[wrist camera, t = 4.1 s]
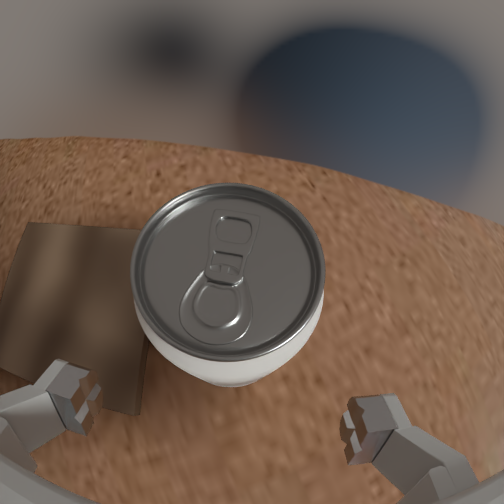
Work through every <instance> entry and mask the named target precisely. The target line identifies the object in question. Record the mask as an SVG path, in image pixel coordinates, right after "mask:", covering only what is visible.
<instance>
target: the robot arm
mask: <svg viewBox="0 0 504 504" xmlns="http://www.w3.org/2000/svg"><path fill="white" fill-rule="evenodd" d="M98 379H99V378H98V375H97V372H96V371H94V370H92V369H89V368H86V367H83V366H80V365H76V364H73V363H70V362H67V361H64V360H61V359H56V360H54V362H53V363H52V364H51V365H50V366H49V367H48V369H47V370H46V371H45V372H44V373H43V374H42V376H41V377H40V378H39V379H38V380H37V382H36V383H35V384H34V385H27V386H25V387H22V388H19V389H17V390H14V391H11V392H8V393H6V394H3V395H0V504H100V503H98V502H95V501H92V500H90V499H87V498H85V497H82V496H80V495H77V494H75V493H73V492H71V491H68V490H66V489H64V488H62V487H60V486H58V485H55V484H53V483H51V482H49V481H47V480H45V479H44V478H42V477H40V476H38V475H36V474H34V472H35V470H36V468H37V464H36V462H35V460H34V459H33V458H32V457H31V455H30V454H29V453H30V452H32V451H34V450H35V449H37V448H38V447H40V446H42V445H43V444H45V443H47V442H48V441H50V440H51V439H53V438H55V437H56V436H58V435H59V434H61V433H62V432H64V431H66V429H68V430H70V431H73V432H76V433H79V434H82V435H85V436H87V435H88V433H89V431H90V429H91V427H92V425H93V424H94V421H93V416H95V415H97V414H99V412H100V410H101V408H102V404H103V392H102V389H101V387H100V386H99V385H98V384H97V381H98ZM347 407H348V411H346V412H345V413H344V414H343V415H342V418H341V420H340V436H341V440H342V441H344V442H345V443H346V444H347V445H346V447H345V449H344V452H345V456H346V459H347V463H348V465H356V464H364V463H372V465H373V466H375V467H376V468H377V469H378V470H379V471H380V472H381V473H382V474H383V475H384V476H385V477H386V478H387V479H388V480H389V481H390V482H391V483H392V484H394V485H395V486H396V487H397V488H398V489H399V490H400V491H401V492H402V493H403V494H404V495H405V496H404V497H403V498H401V499H400V500H399V501H398V502H397V503H396V504H504V470H502V471H500V472H498V473H497V474H495V475H493V476H491V477H489V478H487V479H486V480H484V481H482V482H480V483H479V482H478V480H477V478H476V476H475V474H474V472H473V470H472V468H471V466H470V464H469V462H468V460H467V459H466V457H465V456H464V455H463V454H461V453H459V452H457V451H456V450H454V449H452V448H451V447H449V446H447V445H446V444H444V443H443V442H441V441H439V440H438V439H436V438H434V437H433V436H431V435H430V434H428V433H426V432H425V431H423V430H422V429H420V428H419V427H417V426H412V425H411V423H410V421H409V419H408V417H407V415H406V413H405V411H404V409H403V407H402V405H401V403H400V401H399V400H398V398H397V396H396V395H395V394H394V393H389V394H380V395H369V396H356V397H351V398H350V399H349V401H348V404H347Z"/></svg>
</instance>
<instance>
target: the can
mask: <svg viewBox="0 0 504 504" xmlns="http://www.w3.org/2000/svg"><path fill="white" fill-rule="evenodd" d="M130 282H131V288H132V293H133V297H134V304H135V309H136V313H137V316H138V319H139V322H140V324H141V326H142V328H143V330H144V332H145V334H146V336H147V337H148V339H149V340H150V341H151V343H152V344H153V345H154V347H155V348H156V349H157V350H158V351H159V352H160V353H161V354H162V355H163V356H164V357H165V358H166V359H168V360H169V361H170V362H171V363H173V364H174V365H176V366H177V367H179V368H180V369H182V370H184V371H186V372H187V373H189V374H191V375H193V376H195V377H197V378H199V379H201V380H204V381H206V382H208V383H211V384H214V385H217V386H223V387H239V386H245V385H248V384H251V383H253V382H256V381H257V380H259V379H261V378H263V377H265V376H266V375H268V374H270V373H271V372H273V371H275V370H276V369H278V368H279V367H280V366H282V365H283V364H285V363H286V362H287V361H289V360H290V359H291V358H292V357H293V356H294V355H295V354H296V353H297V352H298V351H299V350H300V349H301V348H302V347H303V346H304V344H305V343H306V342H307V340H308V339H309V337H310V335H311V334H312V332H313V330H314V328H315V326H316V324H317V322H318V319H319V316H320V313H321V309H322V304H323V296H324V283H325V260H324V254H323V250H322V247H321V244H320V241H319V239H318V237H317V235H316V233H315V231H314V229H313V228H312V226H311V224H310V223H309V222H308V220H307V219H306V218H305V217H304V216H303V214H302V213H301V212H300V211H299V210H298V209H297V208H295V207H294V206H293V205H292V204H290V203H289V202H288V201H286V200H285V199H283V198H282V197H280V196H278V195H276V194H274V193H272V192H270V191H268V190H265V189H262V188H259V187H256V186H252V185H247V184H240V183H216V184H209V185H204V186H200V187H197V188H194V189H191V190H188V191H186V192H184V193H182V194H180V195H178V196H176V197H174V198H173V199H171V200H170V201H168V202H167V203H165V204H164V205H163V206H162V207H161V208H159V209H158V210H157V211H156V212H155V213H154V214H153V215H152V217H151V218H150V219H149V220H148V221H147V223H146V224H145V226H144V227H143V229H142V230H141V232H140V234H139V236H138V238H137V240H136V243H135V246H134V249H133V252H132V257H131V263H130Z"/></svg>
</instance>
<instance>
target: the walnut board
mask: <svg viewBox="0 0 504 504" xmlns="http://www.w3.org/2000/svg"><path fill="white" fill-rule="evenodd" d="M140 232H141V230H135V229H122V228H108V227H94V226H79V225H64V224H49V223H33V222H28V224H27V226H26V229H25V231H24V234H23V236H22V239H21V241H20V244H19V246H18V249H17V252H16V254H15V257H14V260H13V263H12V266H11V269H10V272H9V275H8V278H7V281H6V284H5V288H4V291H3V295H2V298H1V302H0V368H2V369H4V370H6V371H8V372H10V373H12V374H14V375H17V376H19V377H21V378H23V379H25V380H28V381H30V382H32V383H36V382H37V380H38V379H39V378H40V377H41V376H42V374H43V373H44V372H45V371H46V370H47V369H48V367H49V366H50V365H51V364H52V363H53V362H54V360H56V359H61V360H64V361H67V362H70V363H73V364H76V365H80V366H83V367H86V368H89V369H92V370H94V371H96V372H97V375H98V378H99V379H98V381H97V384H98V385H99V386H100V387H101V389H102V392H103V404H102V408H106V409H110V410H113V411H117V412H121V413H125V414H129V415H133V416H136V415H140V408H141V398H142V389H143V381H144V373H145V365H146V358H147V351H148V344H149V339H148V337H147V336H146V334H145V332H144V330H143V328H142V326H141V324H140V322H139V319H138V316H137V313H136V309H135V304H134V297H133V293H132V288H131V282H130V263H131V257H132V252H133V249H134V246H135V243H136V240H137V238H138V236H139V234H140Z"/></svg>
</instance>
